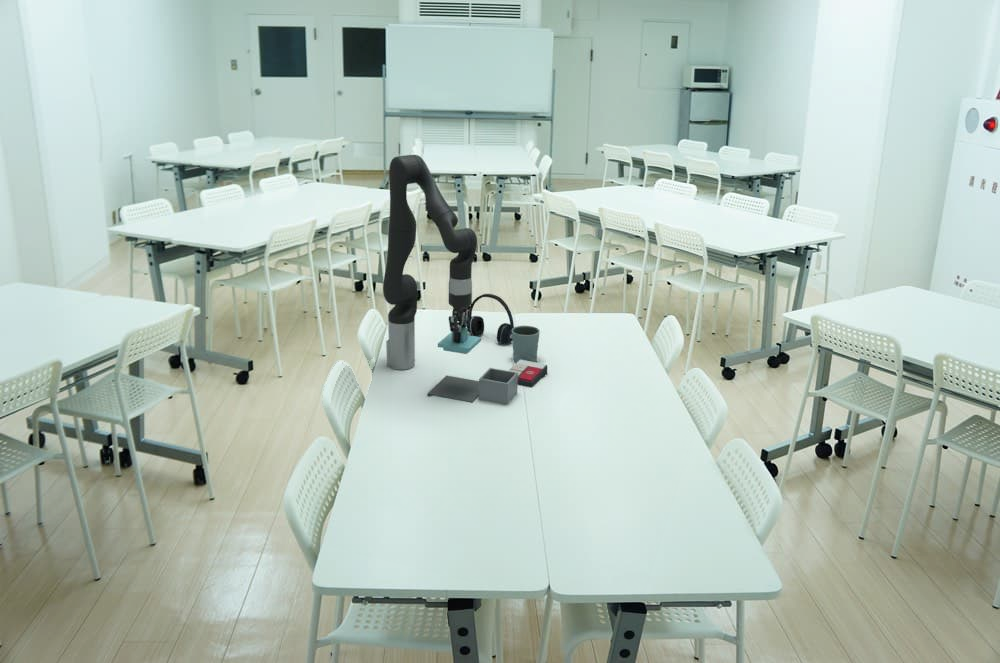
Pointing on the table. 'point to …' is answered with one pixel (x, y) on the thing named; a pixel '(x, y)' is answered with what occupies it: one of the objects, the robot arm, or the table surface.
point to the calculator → (529, 372)
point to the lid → (464, 345)
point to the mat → (456, 389)
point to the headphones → (477, 322)
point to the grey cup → (525, 343)
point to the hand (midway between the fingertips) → (459, 339)
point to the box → (498, 386)
